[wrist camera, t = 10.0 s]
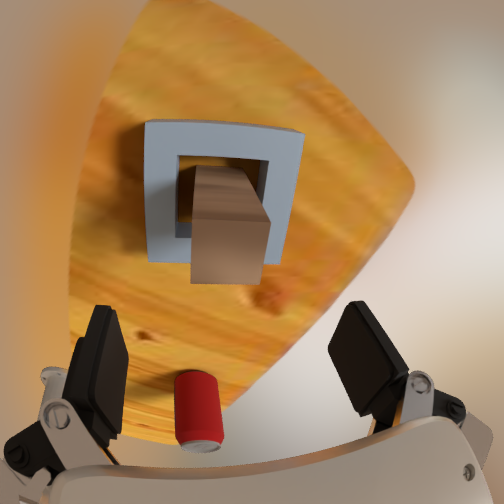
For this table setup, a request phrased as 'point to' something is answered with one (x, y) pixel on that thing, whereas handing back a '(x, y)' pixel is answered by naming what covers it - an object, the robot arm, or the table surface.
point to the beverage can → (197, 412)
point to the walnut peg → (227, 228)
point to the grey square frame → (221, 145)
